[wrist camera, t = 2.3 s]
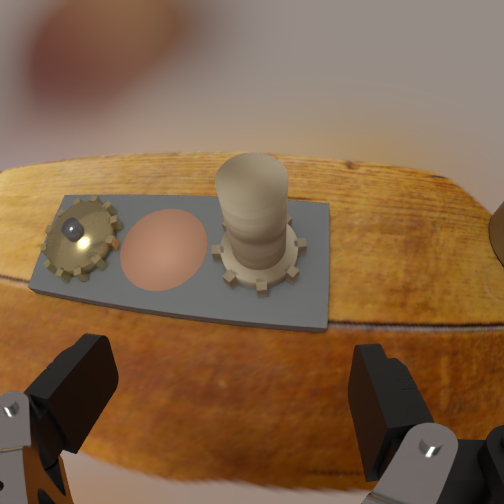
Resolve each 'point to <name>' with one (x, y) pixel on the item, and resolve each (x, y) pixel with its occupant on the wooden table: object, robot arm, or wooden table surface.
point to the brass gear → (81, 239)
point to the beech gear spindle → (256, 224)
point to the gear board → (196, 266)
